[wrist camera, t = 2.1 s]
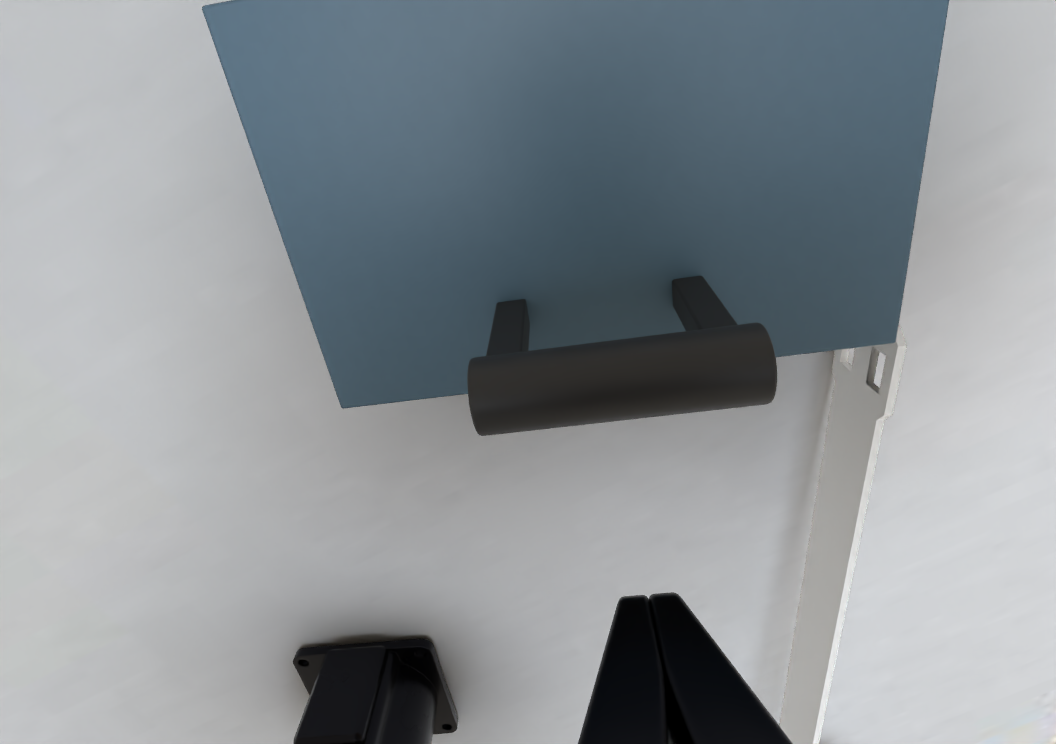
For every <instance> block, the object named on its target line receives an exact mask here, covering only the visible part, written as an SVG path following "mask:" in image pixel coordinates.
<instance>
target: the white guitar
mask: <svg viewBox="0 0 1056 744" xmlns="http://www.w3.org/2000/svg"><path fill="white" fill-rule="evenodd" d="M906 348H907V345H906V341H905V338H904V335H903V332H902V329H901V326H900V325H898V331H897V337H896V342H895V343H891V344H883V345H874V346H866V347H857V348H855V351H854V357H853V363H852V365H851V364H849V363H848V362H847V360H848V354H849V349H850V348H849V349H841V350H835V352H834V358H833V365H832V373H833V377H834V388H833V394H832V400H831V406H830V413H829V419H828V425H827V431H826V438H825V444H824V450H823V456H822V463H821V469H820V475H819V481H818V487H817V494H816V500H815V506H814V512H813V519H812V525H811V531H810V537H809V543H808V550H807V556H806V562H805V568H804V575H803V581H802V587H801V593H800V600H799V606H798V612H797V618H796V624H795V631H794V637H793V643H792V649H791V656H790V662H789V668H788V674H787V681H786V687H785V693H784V699H783V705H782V712H781V718H780V724H779V726H780V728H781V729H782V730H783V731H784V733H785V734H786V735H787V737H788V738H789V739H790V741H791V742H792V743H793V744H819V741H820V736H821V731H822V727H823V722H824V717H825V712H826V707H827V702H828V697H829V692H830V687H831V682H832V677H833V672H834V668H835V663H836V658H837V653H838V648H839V643H840V638H841V633H842V628H843V623H844V618H845V613H846V608H847V604H848V599H849V594H850V589H851V584H852V579H853V574H854V569H855V564H856V559H857V554H858V549H859V544H860V540H861V535H862V530H863V525H864V520H865V515H866V510H867V505H868V500H869V495H870V490H871V485H872V481H873V476H874V471H875V466H876V461H877V456H878V451H879V446H880V441H881V436H882V431H883V426H884V421H885V419H887V418H889V417H890V416H892V415H893V410H894V406H895V401H896V396H897V391H898V386H899V382H900V377H901V372H902V367H903V362H904V358H905V353H906ZM879 351H880V352H882V353H883V354H884V355H886V359H885V364H884V369H883V374H882V379H881V384H880V388H879V387H878V386H876V385H875V384H874V383H873V382H874V377H875V372H876V366H877V361H878V356H879Z"/></svg>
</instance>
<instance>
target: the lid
mask: <svg viewBox="0 0 1056 744" xmlns="http://www.w3.org/2000/svg"><path fill="white" fill-rule="evenodd" d="M948 4H949V0H231V1H226V2H221V3H215V4H210V5H205V6H203V7H202V10H203V13H204V16H205V19H206V22H207V25H208V27H209V30H210V33H211V36H212V39H213V42H214V45H215V47H216V50H217V53H218V56H219V59H220V62H221V65H222V67H223V70H224V73H225V76H226V79H227V82H228V85H229V87H230V90H231V93H232V96H233V99H234V102H235V105H236V108H237V110H238V113H239V116H240V119H241V122H242V125H243V128H244V130H245V133H246V136H247V139H248V142H249V145H250V148H251V150H252V153H253V156H254V159H255V162H256V165H257V168H258V170H259V173H260V176H261V179H262V182H263V185H264V188H265V190H266V193H267V196H268V199H269V202H270V205H271V208H272V211H273V213H274V216H275V219H276V222H277V225H278V228H279V231H280V233H281V236H282V239H283V242H284V245H285V248H286V251H287V253H288V256H289V259H290V262H291V265H292V268H293V271H294V273H295V276H296V279H297V282H298V285H299V288H300V291H301V293H302V296H303V299H304V302H305V305H306V308H307V311H308V314H309V316H310V319H311V322H312V325H313V328H314V331H315V334H316V336H317V339H318V342H319V345H320V348H321V351H322V354H323V356H324V359H325V362H326V365H327V368H328V371H329V374H330V376H331V379H332V382H333V385H334V388H335V391H336V394H337V397H338V399H339V402H340V405H341V407H342V408H351V407H360V406H368V405H377V404H385V403H394V402H402V401H410V400H419V399H427V398H436V397H444V396H453V395H461V394H468V398H469V405H470V411H471V416H472V420H473V424H474V426H475V429H476V431H477V433H478V434H479V435H481V436H486V435H495V434H504V433H513V432H522V431H531V430H540V429H549V428H558V427H567V426H576V425H585V424H594V423H603V422H611V421H620V420H629V419H638V418H647V417H656V416H665V415H674V414H683V413H692V412H701V411H710V410H719V409H728V408H737V407H746V406H755V405H764V404H768V403H770V402H772V400H773V399H774V396H775V392H776V386H777V366H776V358H775V357H782V356H790V355H798V354H807V353H815V352H824V351H832V350H841V349H849V348H857V347H866V346H874V345H883V344H891V343H895V342H896V337H897V331H898V324H899V318H900V312H901V305H902V299H903V292H904V286H905V280H906V273H907V267H908V260H909V254H910V248H911V241H912V235H913V228H914V222H915V216H916V209H917V203H918V196H919V190H920V184H921V177H922V171H923V164H924V158H925V152H926V145H927V139H928V132H929V126H930V120H931V113H932V107H933V100H934V94H935V88H936V81H937V75H938V68H939V62H940V56H941V49H942V43H943V36H944V30H945V24H946V17H947V11H948Z"/></svg>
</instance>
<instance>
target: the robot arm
mask: <svg viewBox="0 0 1056 744" xmlns="http://www.w3.org/2000/svg"><path fill="white" fill-rule="evenodd" d="M293 664H294V666H295V668H296V670H297V672H298V674H299V676H300V677H301V679H302V681H303V683H304V685H305V687H306V689H307V691H308V693H309V695H310V697H309V700H308V702H307V705H306V708H305V710H304V713H303V716H302V719H301V721H300V724H299V727H298V729H297V732H296V735H295V737H294V744H431V741H432V735H433V734H442V733H452V732H454V731H456V729H457V725H458V717H457V714H456V711H455V708H454V705H453V702H452V699H451V696H450V693H449V690H448V687H447V684H446V682H445V679H444V676H443V673H442V670H441V667H440V664H439V661H438V658H437V655H436V652H435V649H434V646H433V644H432V643H431V642H430V641H429V640H426V639H411V640H398V641H386V642H373V643H361V644H348V645H336V646H323V647H311V648H302V649H299V650H298V651H297V652H296V655H295V657H294V659H293ZM578 744H793V743H792V742H791V741H790V739H789V738H788V737H787V735H786V734H785V733H784V731H783V730H782V729H781V728H780V726H779V725H778V724H777V722H776V721H775V720H774V718H773V717H772V716H771V714H770V713H769V712H768V711H767V709H766V708H765V707H764V705H763V704H762V703H761V701H760V700H759V699H758V697H757V696H756V695H755V694H754V692H753V691H752V690H751V688H750V687H749V686H748V684H747V683H746V682H745V680H744V679H743V678H742V677H741V675H740V674H739V673H738V671H737V670H736V669H735V667H734V666H733V665H732V663H731V662H730V661H729V660H728V658H727V657H726V656H725V654H724V653H723V652H722V650H721V649H720V648H719V646H718V645H717V644H716V643H715V641H714V640H713V639H712V637H711V636H710V635H709V633H708V632H707V631H706V629H705V628H704V627H703V625H702V624H701V623H700V622H699V620H698V619H697V618H696V616H695V615H694V614H693V612H692V611H691V610H690V608H689V607H688V606H687V605H686V603H685V602H684V601H683V599H682V598H681V597H680V596H679V595H678V594H676V593H673V592H671V593H659V594H652V595H651V596H650V597H649V599H648V598H647V596H645V595H636V596H624V597H621V598H620V599H619V601H618V604H617V607H616V611H615V615H614V618H613V622H612V625H611V629H610V632H609V636H608V639H607V643H606V646H605V650H604V653H603V657H602V661H601V664H600V668H599V671H598V675H597V678H596V682H595V685H594V689H593V692H592V696H591V699H590V703H589V707H588V710H587V714H586V717H585V721H584V724H583V728H582V731H581V735H580V738H579V742H578Z"/></svg>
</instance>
